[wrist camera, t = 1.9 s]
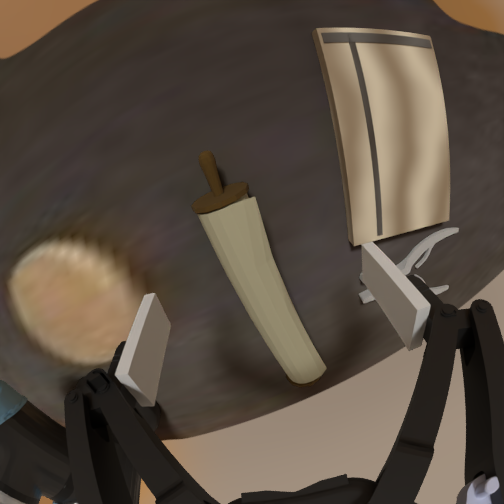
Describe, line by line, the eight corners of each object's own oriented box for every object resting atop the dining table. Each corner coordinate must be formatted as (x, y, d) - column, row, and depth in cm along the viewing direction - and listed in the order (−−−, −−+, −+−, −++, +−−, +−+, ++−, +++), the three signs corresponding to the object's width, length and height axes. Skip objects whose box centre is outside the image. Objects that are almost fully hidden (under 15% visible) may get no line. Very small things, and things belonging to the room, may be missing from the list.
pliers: (451, 293, 32) (361, 324, 32) (445, 287, 33) (356, 316, 33) (463, 229, 28) (364, 253, 28) (455, 224, 29) (358, 246, 29)
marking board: (348, 240, 28) (354, 246, 27) (311, 32, 19) (316, 28, 17) (441, 215, 28) (449, 220, 26) (421, 38, 18) (430, 35, 17)
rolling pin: (176, 162, 24) (165, 171, 19) (234, 136, 23) (236, 139, 19) (289, 379, 38) (295, 406, 33) (325, 366, 37) (335, 392, 33)
